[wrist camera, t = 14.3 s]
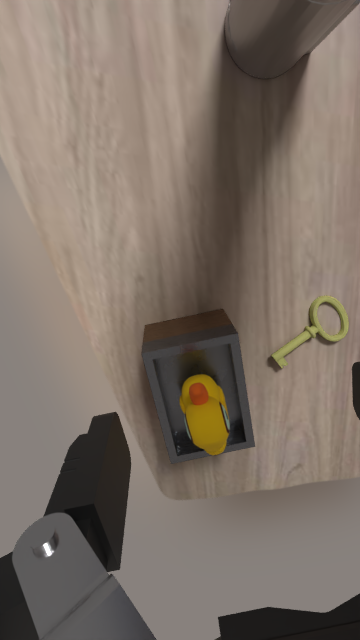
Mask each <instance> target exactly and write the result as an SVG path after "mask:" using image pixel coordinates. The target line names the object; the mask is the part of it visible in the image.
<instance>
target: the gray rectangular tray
mask: <svg viewBox="0 0 360 640" xmlns="http://www.w3.org/2000/svg"><path fill="white" fill-rule="evenodd" d="M142 357H143V361H144V365H145V368H146V372H147V376H148V379H149V383H150V387H151V391H152V394H153V398H154V402H155V406H156V409H157V413H158V417H159V420H160V424H161V428H162V432H163V435H164V439H165V443H166V447H167V450H168V454H169V458H170V461H171V464H173V463H178V462H182V461H187V460H192V459H197V458H202V457H207V456H212V455H210V454H208V453H207V452H206V451H205V450H204V449H202V448H199V447H198V446H196V445H195V444H194V443H193V442H192V441H191V439H190V438H189V436H188V433H187V430H186V427H185V414H184V413H183V411H182V409H181V407H180V402H179V398H180V396H181V395H182V386H183V384H184V382H185V381H186V380H187V379H188V378H189V377H192V376H194V375H199V374H205V375H208V376H210V377H211V378H212V379H213V380H214V381H215V383H216V384H217V385H218V386H220V387H221V389H222V391H223V393H224V397H225V402H226V407H227V411H228V416H229V424H230V431H229V435H228V438H227V440H226V441H227V443H226V448H225V450H224V451H223V452H222V453H226V452H231V451H236V450H241V449H246V448H250V447H255V443H254V436H253V430H252V423H251V416H250V410H249V403H248V397H247V390H246V383H245V377H244V370H243V364H242V357H241V350H240V344H239V337H238V333H237V331H236V329H235V328H234V326H233V325H232V323H231V321H230V320H229V318H228V316H227V315H226V313H225V312H224V310H223V309H220V310H215V311H211V312H206V313H201V314H196V315H192V316H187V317H182V318H178V319H173V320H168V321H163V322H159V323H154V324H149V325H145V329H144V338H143V346H142ZM220 454H221V453H220Z"/></svg>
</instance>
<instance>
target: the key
mask: <svg viewBox="0 0 360 640" xmlns="http://www.w3.org/2000/svg"><path fill="white" fill-rule="evenodd" d="M322 302H328V303H329V304H331V305H332V306H333V307H334V308H335V309H336V310H337V312H338V314H339V316H340V319H341V330H340V332H339V333H338V334H336V335H334V336H330V335H328V334H327V333H325V332H324V330H323V329H322V328H321V326H320V324H319V321H318V318H317V309H318V307H319V305H320V304H321V303H322ZM309 316H310V320H311V322H312V326H311V327H308V326H306V327H305V331H304V332H303V333H301V334H300V335H298V336H297V337H296V338H294V339H293V340H291V341H290V342H289V343H287V344H286V345H284V346H283V347H282V348H280V349H279V350H278V351H276V352H275V353H273V354H272V355H271V356H272V357H273V359H274V360H275V361H276V362H277V363H278V364H279V366H280V367H281V368H283V366H282V365H284V366H286V365H288V363H287V362H286V360H285V359H284V356H285V355H286V354H288V353H289V352H291V351H292V350H293V349H295V348H296V347H298V346H299V345H300V344H302V343H303V342H305V341H306V340H307V339H309V338H310V337H312V338H315V337H316V333H317V332H318V333H319V335H320V336H322V337H323V338H324V339H326V340H329V341H339V340H341V339H342V338H344V337H345V335H346V334H347V332H348V327H349V322H348V316H347V314H346V311H345V309H344V307H343V306H342V304H341V303H340V302H339V301H338V300H337V299H335V298H333V297H331V296H320V297H319V298H317V299H316V300H314V301H313V303H312V304H311V306H310V310H309Z"/></svg>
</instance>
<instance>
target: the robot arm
mask: <svg viewBox="0 0 360 640" xmlns="http://www.w3.org/2000/svg"><path fill="white" fill-rule="evenodd" d="M359 3H360V0H230V2H229V6H228V9H227V13H226V19H225V38H226V43H227V47H228V50H229V52H230V54H231V57H232V58H233V60H234V61H235V63H236V64H237V65H238V66H239V67H240V68H241V69H242V70H243V71H244V72H246V73H247V74H249V75H251V76H253V77H257V78H267V79H268V78H273V77H277V76H279V75H281V74H283V73H285V72H286V71H287V70H289V69H290V68H291V67H292V66H293V65H294V64H295V63H296V62H297V61H298V60H299V59H300V58H301V57H302V56H303V55H305V54H309V53H311V52H312V51H313V50H314V49H315V48H316V47H317V46H318V45H319V44H320V43H321V42H322V41H323V40H324V39H325V38H326V37H327V36H328V35H329V34H330V33H331V32H332V31H333V30H334V29H335V28H336V27H337V26H338V25H339V24H340V23H341V22H342V21H343V19H344V18H345V17H346V16H347V15H348V14H349V13H350V12H351V11H352V10H353V9H354V8H355V7H356V6H357V5H358V4H359ZM352 387H353V406H354V410H355V412H356V414H357V416H358V418H359V420H360V362H356V363H354V364H353V367H352ZM64 461H65V463H63V466H62V468H61V471H60V474H59V477H58V479H57V482H56V484H55V487H54V490H53V492H52V495H51V498H50V500H49V503H48V506H47V508H46V512H45V514H44V516H43V518H40V519H39V520H37V521H36V522H34V523H33V524H32V525H31V526H30V527H28V528H27V530H25V532H24V533H23V534H22V535H21V537H20V538H19V540H18V541H17V543H16V545H15V548H14V550H13V552H11V553H9V554H7V555H5V556H3V557H1V558H0V640H156V638H155V637H154V635H153V634H152V632H151V631H150V629H149V628H148V626H147V624H146V623H145V622H144V620H143V618H142V617H141V615H140V614H139V612H138V611H137V609H136V608H135V606H134V605H133V603H132V602H131V600H130V599H129V597H128V596H127V594H126V593H125V591H124V590H123V588H122V587H121V585H120V584H119V582H118V581H117V579H115V577H114V576H113V575H112V574H110V575H109V574H108V573H107V572H110V571H115V570H119V569H120V563H121V554H122V545H123V536H124V526H125V517H126V508H127V499H128V489H129V479H130V470H131V457H130V451H129V447H128V444H127V441H126V438H125V435H124V432H123V428H122V425H121V422H120V419H119V416H118V414H117V413H116V412H113V413H108V414H103V415H98V416H94V417H93V418H92V421H91V425H90V428H89V431H88V433H87V434H82V435H79V436H78V438H77V439H76V440H75V441H74V442H73V444H72V445H71V446H70V447H69V450H68V452H67V455H66V458H65V460H64ZM218 620H219V627H220V634H221V636H220V637H219V638H217V639H215V640H360V594H358V595H356V596H355V597H353V598H351V599H350V600H348V601H347V602H345V603H343V604H341V605H340V606H338V607H336V608H335V609H333V610H331V611H329V612H326V613H319V612H309V611H300V610H291V609H281V608H272V607H266V608H261V609H256V610H251V611H246V612H241V613H236V614H231V615H226V616H221V617H218Z"/></svg>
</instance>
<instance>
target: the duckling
mask: <svg viewBox="0 0 360 640" xmlns="http://www.w3.org/2000/svg"><path fill="white" fill-rule="evenodd" d="M179 402H180V407H181V409H182V411H183V413H184V414H185V427H186V430H187V433H188V436H189V438H190V439H191V441H192V442H193V443H194V444H195V445H196V446H198V447H199V448H202V449H204V450H205V451H206V452H207V453H208V454H210V455H218V454H220V453H222V452H223V451H224V450H225V448H226V443H227V441H226V440H227V438H228V435H229V431H230V424H229V416H228V411H227V407H226V402H225V397H224V393H223V391H222V389H221V387H220V386H218V385H217V384H216V383H215V381H214V380H213V379H212V378H211V377H210V376H208V375H205V374H199V375H194V376H192V377H189V378H188V379H187V380H186V381H185V382H184V384H183V386H182V395H181V396H180V398H179Z"/></svg>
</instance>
